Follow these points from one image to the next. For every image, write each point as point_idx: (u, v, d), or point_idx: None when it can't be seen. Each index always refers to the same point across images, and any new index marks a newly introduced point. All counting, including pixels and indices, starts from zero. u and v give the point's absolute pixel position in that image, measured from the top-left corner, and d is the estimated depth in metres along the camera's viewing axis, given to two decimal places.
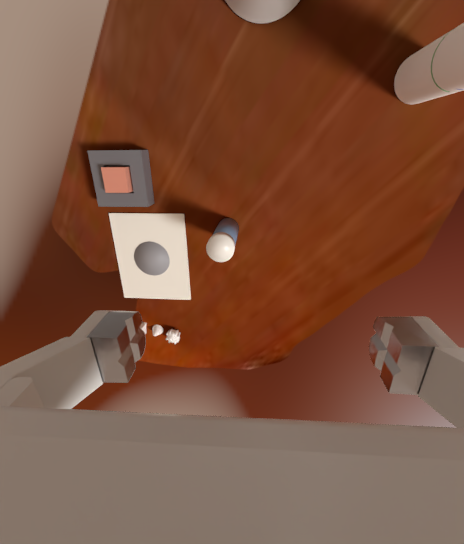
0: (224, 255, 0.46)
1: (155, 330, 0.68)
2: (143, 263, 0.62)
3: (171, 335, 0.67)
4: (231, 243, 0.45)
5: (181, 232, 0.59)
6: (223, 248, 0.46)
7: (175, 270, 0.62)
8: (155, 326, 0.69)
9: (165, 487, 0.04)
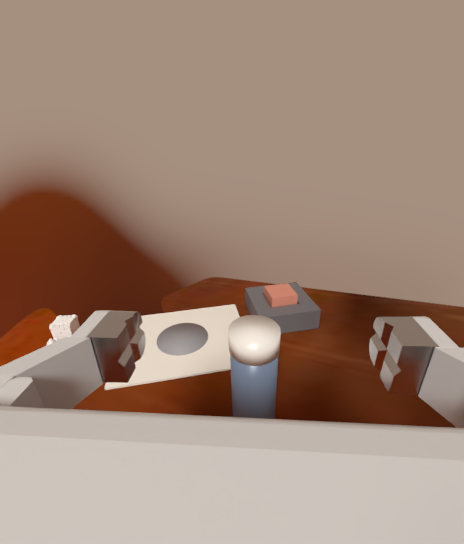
0: (243, 336, 0.24)
1: None
2: (174, 331, 0.46)
3: None
4: (271, 341, 0.23)
5: (228, 363, 0.39)
6: (256, 333, 0.24)
7: (164, 362, 0.39)
8: None
9: (166, 486, 0.04)
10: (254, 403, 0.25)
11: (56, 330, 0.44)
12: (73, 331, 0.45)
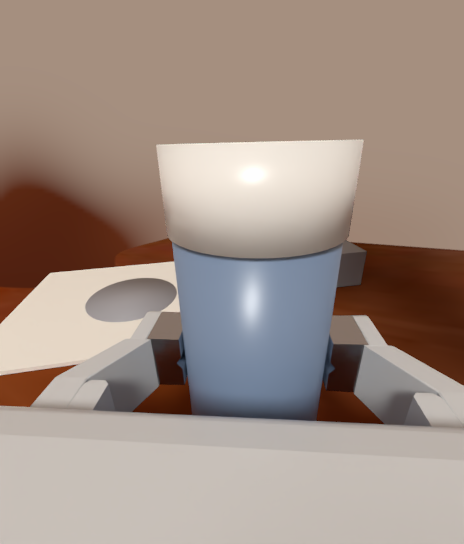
0: None
1: None
2: (123, 288, 0.28)
3: None
4: None
5: None
6: None
7: (87, 333, 0.21)
8: None
9: (166, 486, 0.04)
10: None
11: None
12: None
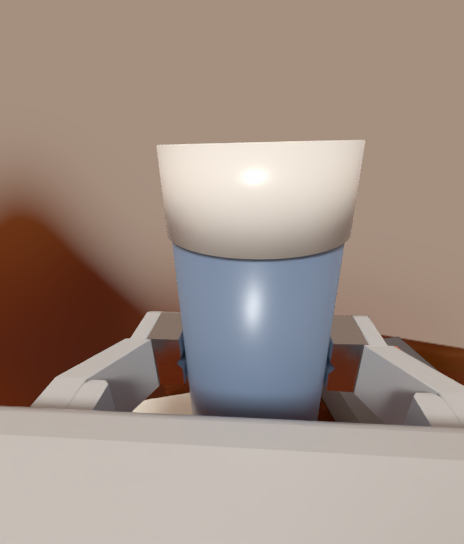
0: None
1: None
2: None
3: None
4: None
5: None
6: None
7: None
8: None
9: (166, 487, 0.04)
10: None
11: None
12: None
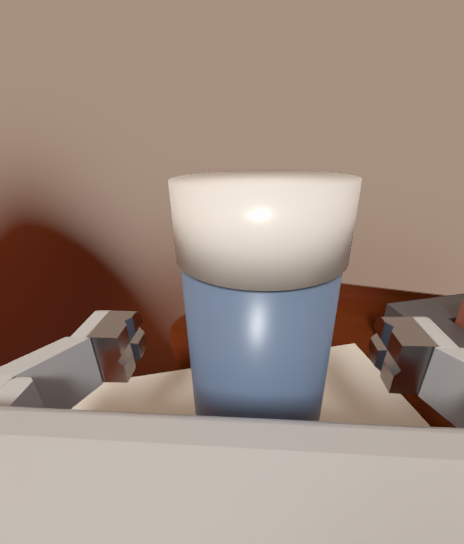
0: (222, 181, 0.06)
1: None
2: None
3: None
4: (336, 184, 0.05)
5: None
6: (272, 179, 0.07)
7: None
8: None
9: (166, 486, 0.04)
10: None
11: None
12: None
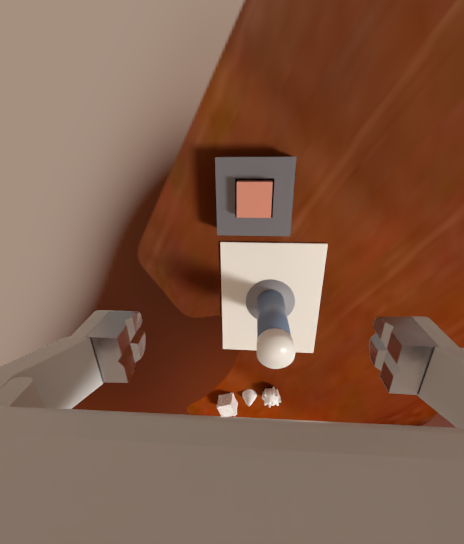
0: (280, 361, 0.34)
1: (247, 398, 0.53)
2: None
3: (269, 398, 0.51)
4: (292, 347, 0.33)
5: (319, 268, 0.43)
6: (280, 353, 0.34)
7: (299, 316, 0.47)
8: (245, 393, 0.54)
9: (166, 486, 0.04)
10: None
11: (234, 408, 0.54)
12: (228, 397, 0.54)
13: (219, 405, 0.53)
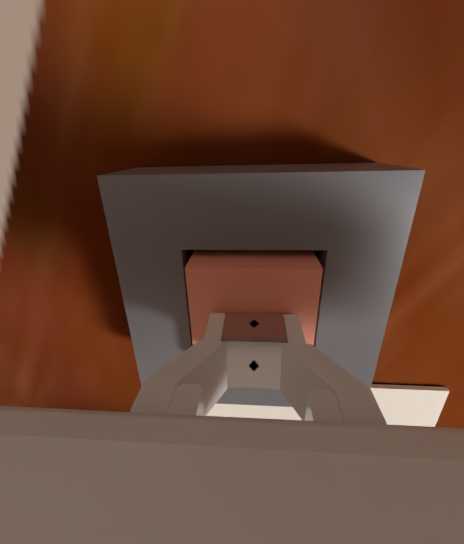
0: None
1: None
2: None
3: None
4: None
5: None
6: None
7: None
8: None
9: (166, 486, 0.04)
10: None
11: None
12: None
13: None
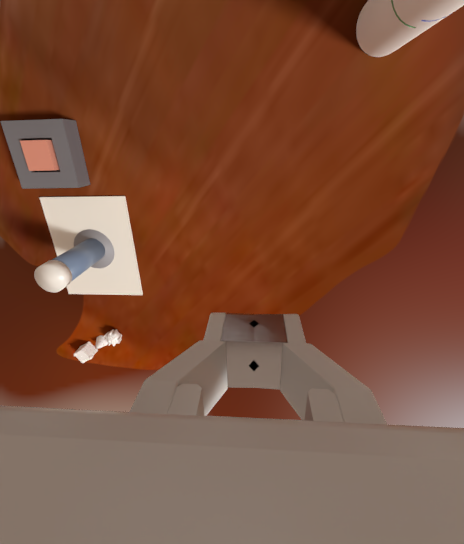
0: (55, 285, 0.43)
1: (96, 342, 0.63)
2: None
3: (107, 337, 0.60)
4: (59, 273, 0.42)
5: (124, 218, 0.51)
6: (52, 278, 0.42)
7: (121, 262, 0.55)
8: (96, 339, 0.64)
9: (165, 487, 0.04)
10: (87, 265, 0.48)
11: (90, 353, 0.64)
12: (84, 345, 0.64)
13: (75, 352, 0.63)
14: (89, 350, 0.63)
